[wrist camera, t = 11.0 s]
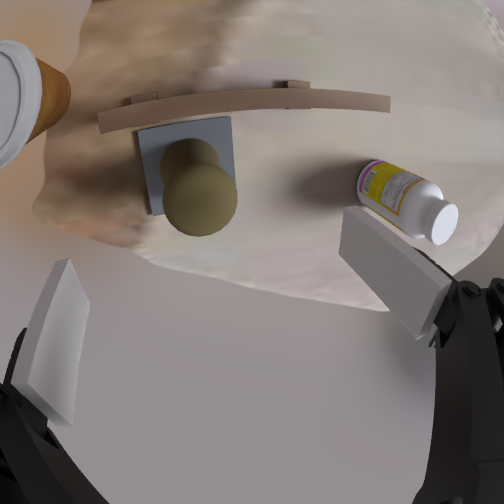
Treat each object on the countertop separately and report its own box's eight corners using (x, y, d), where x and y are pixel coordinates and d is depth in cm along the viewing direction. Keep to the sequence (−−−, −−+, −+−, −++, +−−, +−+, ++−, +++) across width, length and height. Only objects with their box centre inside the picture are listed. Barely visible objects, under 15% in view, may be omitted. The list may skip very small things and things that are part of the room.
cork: (229, 150, 27) (264, 181, 18) (206, 203, 29) (227, 259, 20) (173, 129, 24) (174, 148, 15) (151, 186, 27) (143, 237, 18)
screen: (129, 97, 22) (95, 97, 11) (307, 81, 26) (390, 84, 15) (132, 126, 24) (103, 150, 13) (308, 108, 27) (389, 125, 17)
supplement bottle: (395, 193, 36) (461, 236, 26) (359, 213, 36) (424, 265, 26) (388, 151, 32) (464, 185, 22) (349, 169, 32) (424, 212, 22)
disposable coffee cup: (42, 40, 15) (-21, 21, 5) (104, 81, 20) (60, 71, 10) (-5, 119, 17) (-74, 144, 8) (52, 161, 22) (-5, 204, 13)
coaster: (138, 130, 24) (137, 131, 23) (229, 116, 26) (230, 117, 25) (153, 213, 29) (152, 216, 28) (235, 199, 31) (237, 201, 30)
